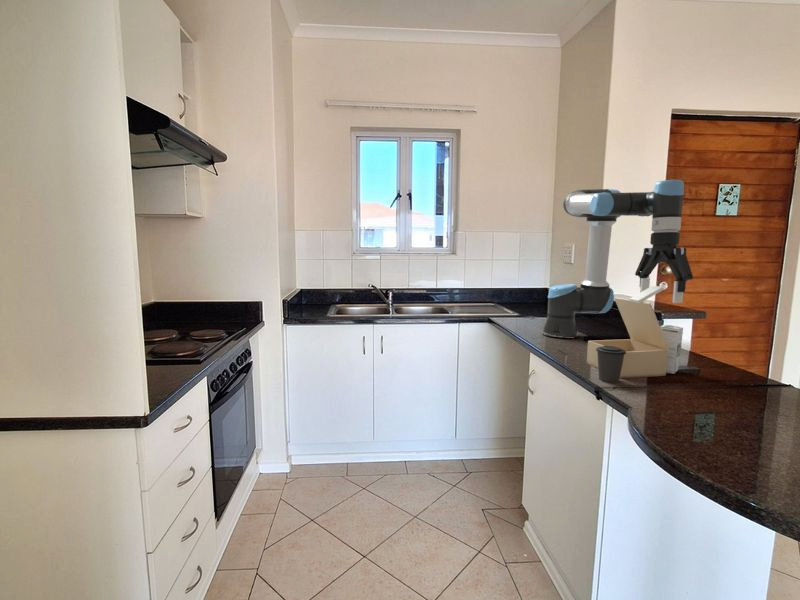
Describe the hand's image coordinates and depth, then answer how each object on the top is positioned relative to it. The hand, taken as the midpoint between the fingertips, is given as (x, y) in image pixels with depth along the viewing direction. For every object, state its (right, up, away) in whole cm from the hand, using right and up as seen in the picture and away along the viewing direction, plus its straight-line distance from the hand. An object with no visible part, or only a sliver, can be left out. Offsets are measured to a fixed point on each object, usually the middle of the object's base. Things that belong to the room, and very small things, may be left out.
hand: (659, 300), depth 126 cm
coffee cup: (-20, -24, -7) cm, 32 cm away
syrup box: (+4, -23, +2) cm, 23 cm away
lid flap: (-5, -7, +3) cm, 9 cm away
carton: (-9, -23, +4) cm, 25 cm away
